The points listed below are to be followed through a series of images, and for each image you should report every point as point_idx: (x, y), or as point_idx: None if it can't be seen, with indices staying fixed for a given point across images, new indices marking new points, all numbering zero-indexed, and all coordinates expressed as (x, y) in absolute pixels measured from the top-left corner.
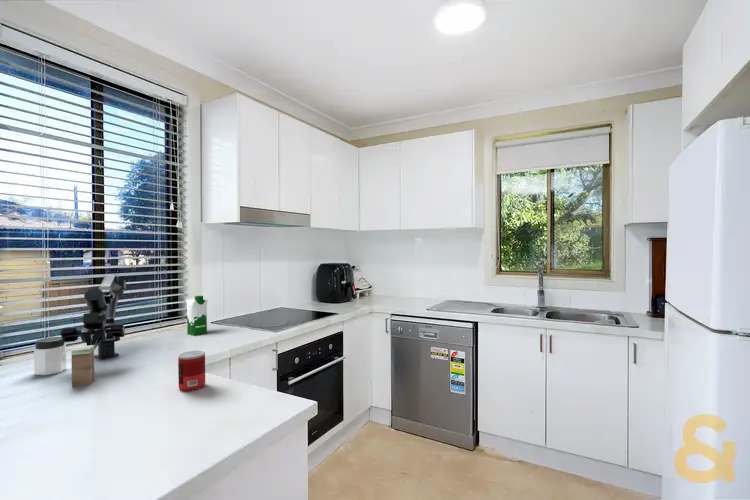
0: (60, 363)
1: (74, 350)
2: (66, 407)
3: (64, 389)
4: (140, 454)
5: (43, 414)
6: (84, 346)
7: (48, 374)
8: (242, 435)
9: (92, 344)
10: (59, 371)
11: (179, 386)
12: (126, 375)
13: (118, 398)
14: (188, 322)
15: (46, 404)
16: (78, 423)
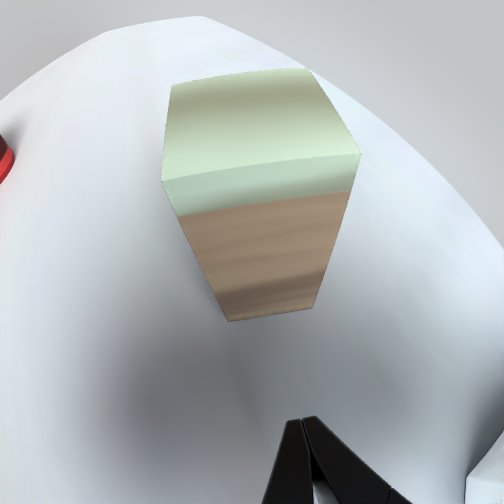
0: (495, 480)
1: (286, 70)
2: None
3: None
4: (109, 44)
5: None
6: (260, 145)
7: (498, 438)
8: (36, 75)
9: (295, 488)
10: (472, 472)
11: (10, 152)
12: (92, 335)
13: (113, 126)
14: None
15: None
16: (174, 62)
